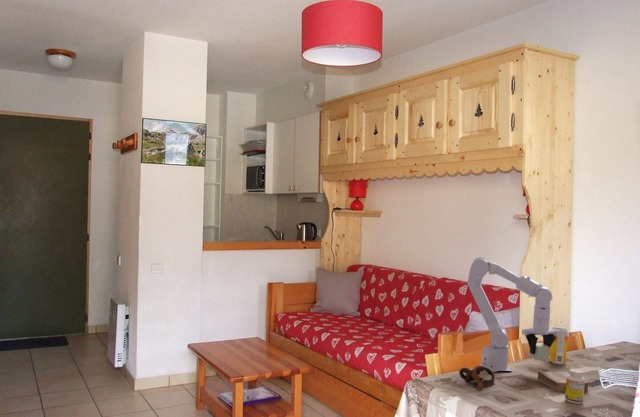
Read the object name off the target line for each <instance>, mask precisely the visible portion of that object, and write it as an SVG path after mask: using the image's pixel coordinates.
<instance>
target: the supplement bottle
mask: <svg viewBox="0 0 640 417" xmlns="http://www.w3.org/2000/svg"><path fill="white" fill-rule="evenodd" d="M568 373H569V375H567V378H566V391H565V396H564V398H565V400H566V401H567V402H569V403H572V404H578V405H579V404H582V403H584V401H585V400H584V399H585V398H584V396H585V391H584V384H585V381H586V379H585V377H583V371H582V370H580V369H576V368H575V369H574V368H571V369H569V372H568Z"/></svg>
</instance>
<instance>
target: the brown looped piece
mask: <svg viewBox="0 0 640 417" xmlns="http://www.w3.org/2000/svg"><path fill="white" fill-rule="evenodd" d="M483 372H486V373H487V375H489V376H491V378H489V379H484V377H481V376H480V374H481V373H483ZM458 373H459V376H460V377H461V380H464V382H465V383H466V384H469V383H471V382H476V383H477V386H476V387H475V389H476V390H477V391H479V392H481V391H482V390H485V389H488V388H491V387H493V385H494V384H495V374H494V372H492V371H491V370H490V369H488V368H487V367H484V366H480V365H476V366H475V367H474V368H471V369H470V368H467V367H461V368H460V369H459V371H458Z"/></svg>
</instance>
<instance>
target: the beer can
mask: <svg viewBox="0 0 640 417" xmlns="http://www.w3.org/2000/svg"><path fill="white" fill-rule="evenodd" d="M551 329H556V330H559V336H557V335H554V336H555V337H556V339H555V341H554V342H553V343H552V345H551V347H550V352H549V360H550V361H551V363H552V364H555V365H558V366H559V365H561V366H562V365H565V364H566V362H567V351H568V337H569V329H568V327H566V326H563V325H553V327H552V328H551Z"/></svg>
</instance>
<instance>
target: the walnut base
mask: <svg viewBox="0 0 640 417" xmlns="http://www.w3.org/2000/svg"><path fill="white" fill-rule="evenodd" d="M567 375H569V372H568V371H538V372H537V381H538V382H540V383H542V384H544V385H545V386H547V387H549V388H551V389H552V390H554V391H556V392H566V378H567ZM588 391H589V382H587V381H586V380H585V384H584V392H588Z"/></svg>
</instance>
